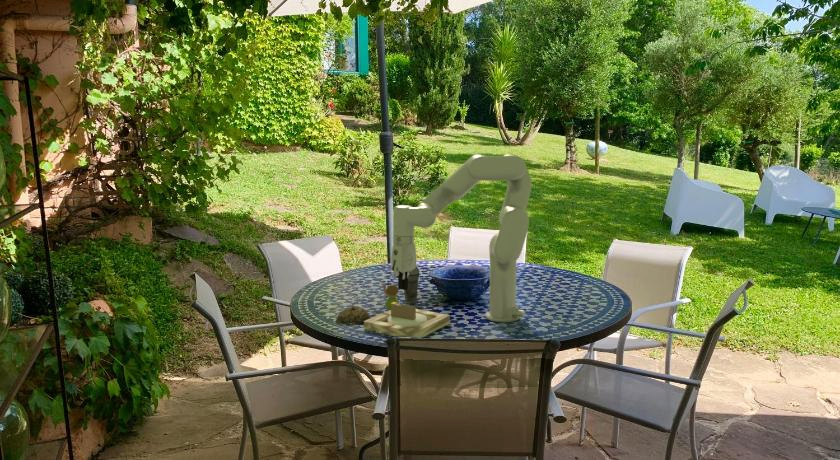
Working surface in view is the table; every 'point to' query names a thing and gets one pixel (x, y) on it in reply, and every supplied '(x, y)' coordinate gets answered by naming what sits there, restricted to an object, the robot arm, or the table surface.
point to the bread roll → (353, 315)
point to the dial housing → (382, 325)
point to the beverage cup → (412, 286)
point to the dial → (405, 316)
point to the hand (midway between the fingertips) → (402, 288)
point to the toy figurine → (390, 295)
